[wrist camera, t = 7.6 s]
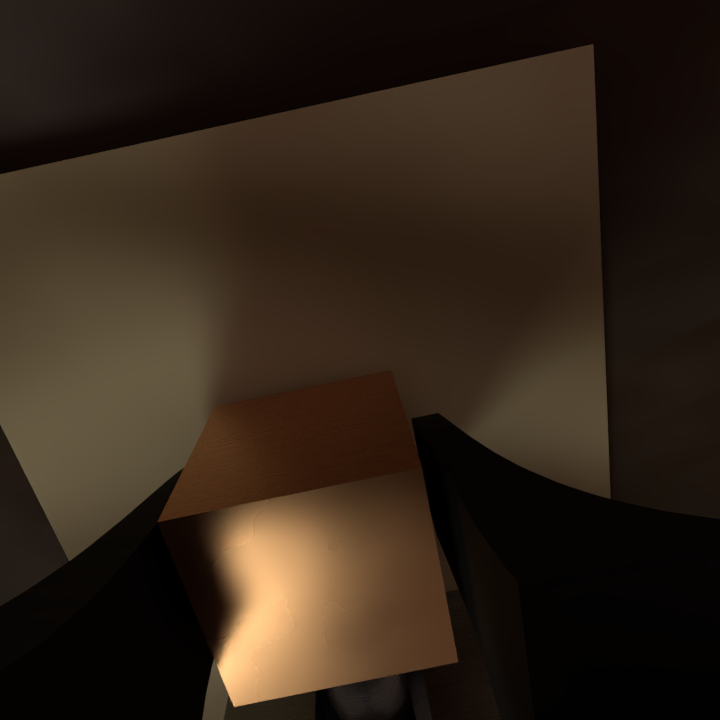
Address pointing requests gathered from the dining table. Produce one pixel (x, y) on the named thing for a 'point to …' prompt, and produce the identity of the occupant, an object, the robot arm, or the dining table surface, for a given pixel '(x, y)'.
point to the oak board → (311, 284)
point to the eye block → (427, 686)
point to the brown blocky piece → (313, 548)
